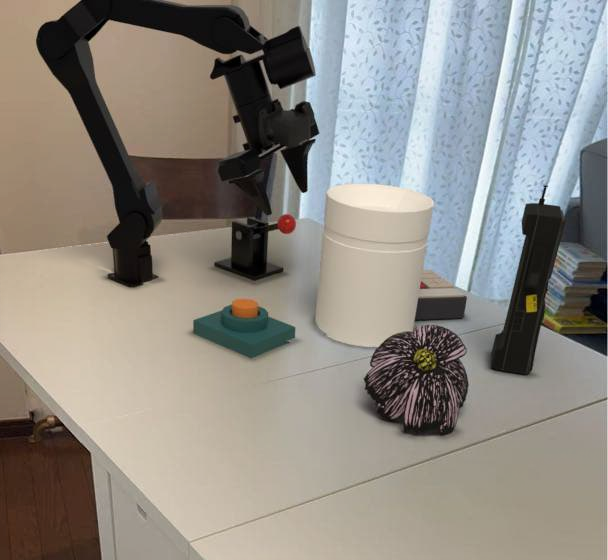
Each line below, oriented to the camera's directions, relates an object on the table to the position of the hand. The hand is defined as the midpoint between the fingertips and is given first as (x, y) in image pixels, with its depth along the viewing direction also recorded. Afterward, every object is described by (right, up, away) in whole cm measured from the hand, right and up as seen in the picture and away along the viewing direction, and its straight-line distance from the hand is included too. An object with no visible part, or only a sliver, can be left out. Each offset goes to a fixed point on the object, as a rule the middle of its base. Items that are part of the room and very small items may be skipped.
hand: (287, 203), depth 130 cm
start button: (-6, -21, -9) cm, 24 cm away
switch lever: (-3, -2, +11) cm, 11 cm away
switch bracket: (-7, -5, +17) cm, 20 cm away
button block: (-7, -24, -7) cm, 26 cm away
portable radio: (+34, -28, -8) cm, 45 cm away
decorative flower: (+18, -38, -23) cm, 47 cm away
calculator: (+23, -13, +10) cm, 28 cm away
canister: (+12, -20, 0) cm, 24 cm away
